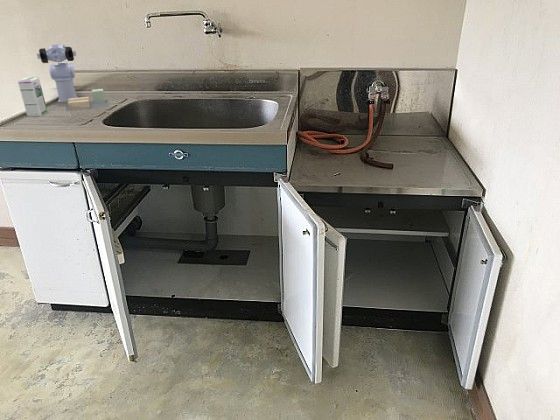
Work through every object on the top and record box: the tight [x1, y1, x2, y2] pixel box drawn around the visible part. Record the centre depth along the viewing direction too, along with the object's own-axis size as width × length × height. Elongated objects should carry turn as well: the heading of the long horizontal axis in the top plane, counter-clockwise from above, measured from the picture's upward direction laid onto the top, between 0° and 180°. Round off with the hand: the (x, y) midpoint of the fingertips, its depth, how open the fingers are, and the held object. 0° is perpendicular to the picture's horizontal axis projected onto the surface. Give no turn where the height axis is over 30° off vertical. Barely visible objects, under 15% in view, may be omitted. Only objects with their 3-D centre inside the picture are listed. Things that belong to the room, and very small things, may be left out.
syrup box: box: [17, 76, 48, 117], centre depth 186 cm, size 6×6×14 cm
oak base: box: [67, 96, 91, 111], centre depth 197 cm, size 8×8×3 cm
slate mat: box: [65, 99, 110, 112], centre depth 200 cm, size 14×17×1 cm
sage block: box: [91, 88, 106, 103], centre depth 204 cm, size 4×4×5 cm
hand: (55, 55), depth 186 cm, fingers open, 7 cm apart
